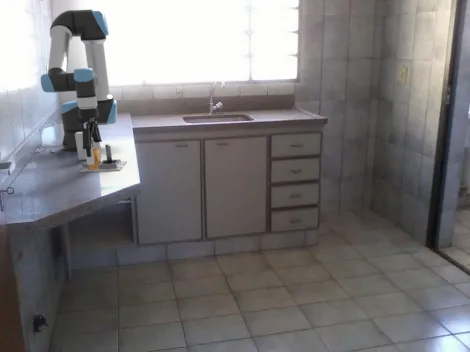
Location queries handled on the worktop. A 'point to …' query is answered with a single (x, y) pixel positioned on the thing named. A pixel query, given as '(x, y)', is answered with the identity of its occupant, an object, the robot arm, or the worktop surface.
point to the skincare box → (80, 145)
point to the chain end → (104, 163)
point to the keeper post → (109, 160)
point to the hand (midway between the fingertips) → (94, 160)
